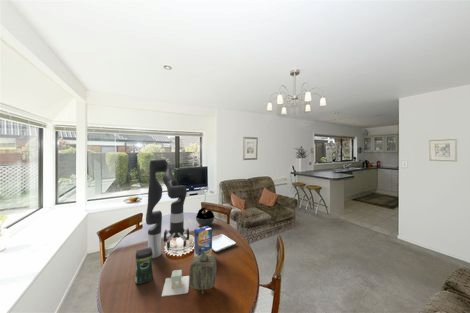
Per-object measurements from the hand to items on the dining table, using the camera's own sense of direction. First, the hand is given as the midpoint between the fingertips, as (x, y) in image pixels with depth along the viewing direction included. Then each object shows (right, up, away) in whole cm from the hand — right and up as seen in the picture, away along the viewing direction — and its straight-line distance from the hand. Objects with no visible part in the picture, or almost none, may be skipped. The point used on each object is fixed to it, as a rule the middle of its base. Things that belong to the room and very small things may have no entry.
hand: (176, 247), depth 105 cm
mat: (0, -22, 0) cm, 22 cm away
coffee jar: (-21, -22, +5) cm, 31 cm away
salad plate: (+21, -23, +48) cm, 57 cm away
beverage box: (+11, -22, +28) cm, 37 cm away
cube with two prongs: (0, -22, 0) cm, 22 cm away
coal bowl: (+2, -22, +89) cm, 92 cm away
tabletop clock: (+16, -23, -4) cm, 28 cm away
